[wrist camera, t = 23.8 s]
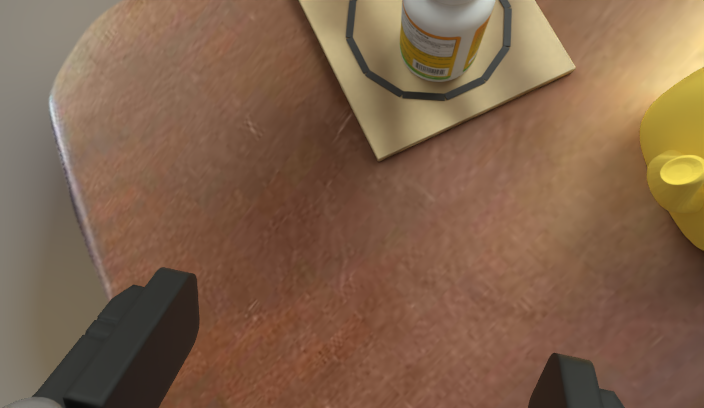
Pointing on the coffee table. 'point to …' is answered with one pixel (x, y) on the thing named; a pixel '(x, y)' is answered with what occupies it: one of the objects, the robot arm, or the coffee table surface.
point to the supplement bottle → (442, 36)
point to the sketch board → (422, 95)
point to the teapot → (678, 154)
